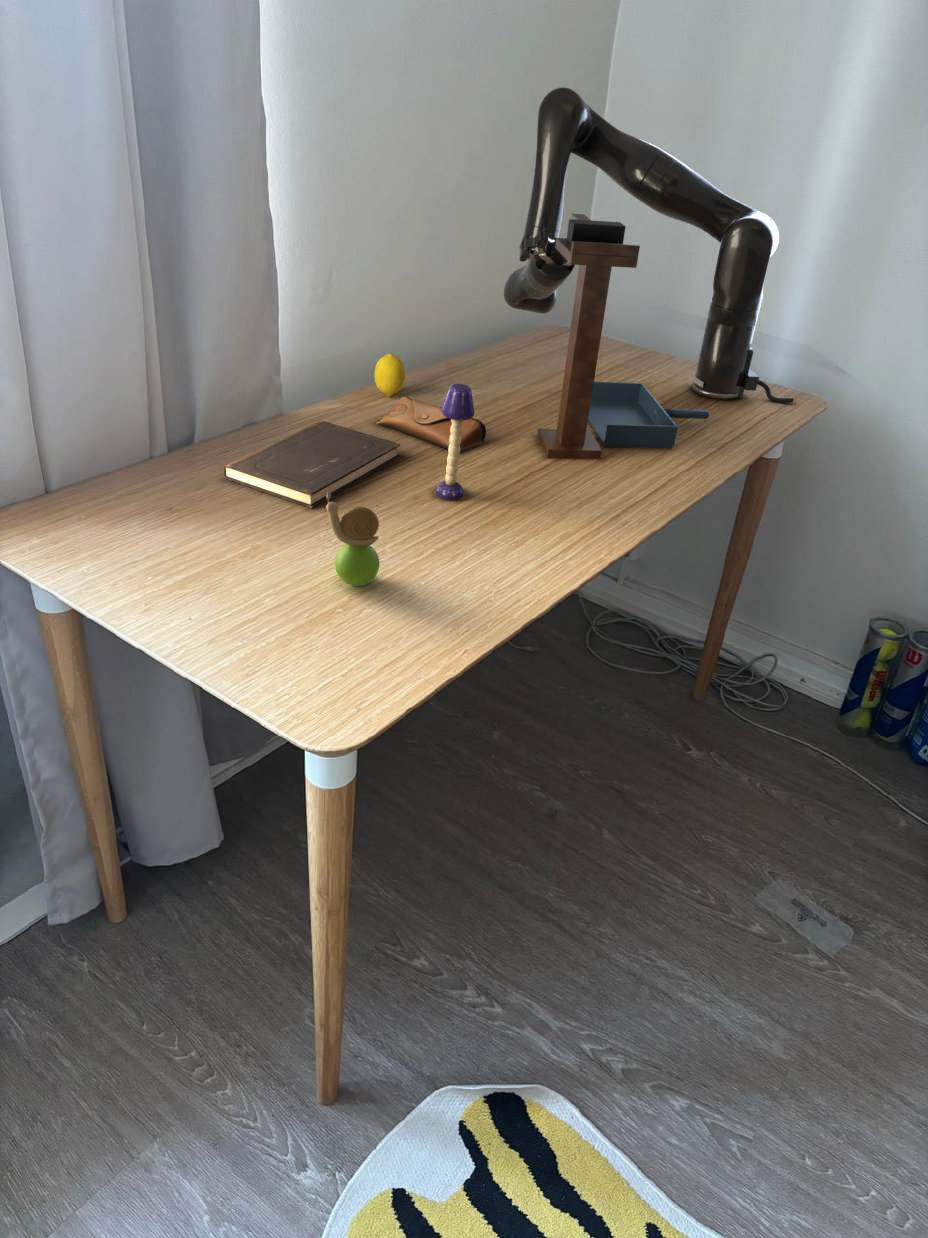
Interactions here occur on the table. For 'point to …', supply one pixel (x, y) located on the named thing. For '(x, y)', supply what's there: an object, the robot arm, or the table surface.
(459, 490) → the toy lamp
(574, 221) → the t-shaped mallet
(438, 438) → the sunglasses case
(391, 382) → the lemon
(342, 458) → the hardcover book
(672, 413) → the scoop
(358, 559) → the snail figurine
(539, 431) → the stand
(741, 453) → the table surface
